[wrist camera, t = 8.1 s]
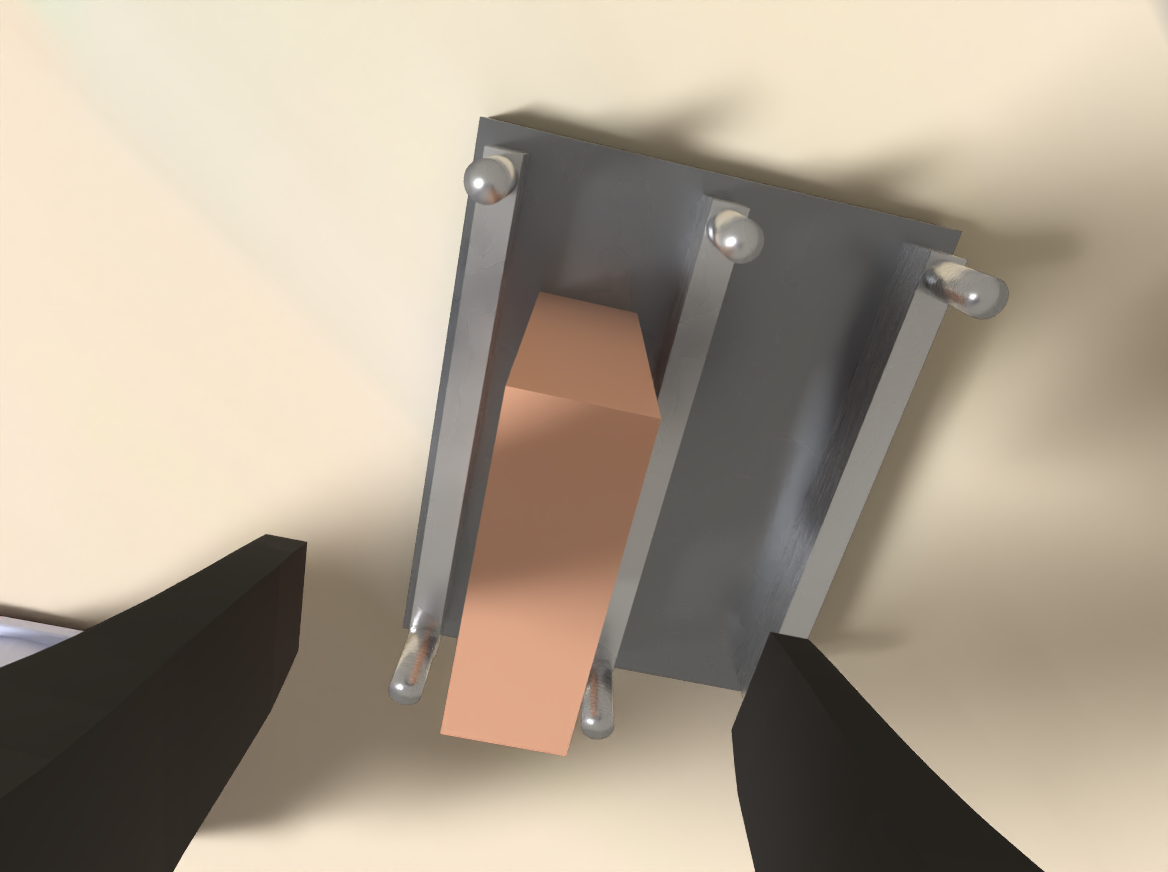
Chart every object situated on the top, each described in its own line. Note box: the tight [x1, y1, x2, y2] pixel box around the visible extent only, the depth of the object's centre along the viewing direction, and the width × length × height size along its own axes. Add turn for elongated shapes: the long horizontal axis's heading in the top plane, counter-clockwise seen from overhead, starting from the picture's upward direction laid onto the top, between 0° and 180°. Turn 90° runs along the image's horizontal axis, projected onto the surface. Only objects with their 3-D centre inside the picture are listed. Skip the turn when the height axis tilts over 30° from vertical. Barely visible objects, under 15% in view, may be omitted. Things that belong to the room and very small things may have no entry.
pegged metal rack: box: [389, 117, 1008, 739], centre depth 18 cm, size 14×11×4 cm
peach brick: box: [440, 292, 661, 756], centre depth 15 cm, size 7×2×7 cm, turn 168°
